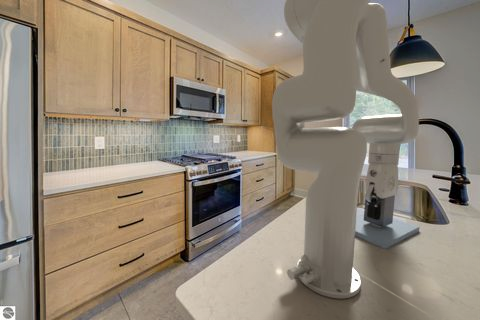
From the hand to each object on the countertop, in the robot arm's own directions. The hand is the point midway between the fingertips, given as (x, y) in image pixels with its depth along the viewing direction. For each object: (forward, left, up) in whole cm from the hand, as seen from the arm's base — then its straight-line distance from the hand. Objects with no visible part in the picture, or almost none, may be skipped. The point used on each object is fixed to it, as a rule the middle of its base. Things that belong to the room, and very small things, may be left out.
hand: (378, 215), depth 63 cm
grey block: (0, 0, -2) cm, 2 cm away
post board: (0, 0, -5) cm, 5 cm away
